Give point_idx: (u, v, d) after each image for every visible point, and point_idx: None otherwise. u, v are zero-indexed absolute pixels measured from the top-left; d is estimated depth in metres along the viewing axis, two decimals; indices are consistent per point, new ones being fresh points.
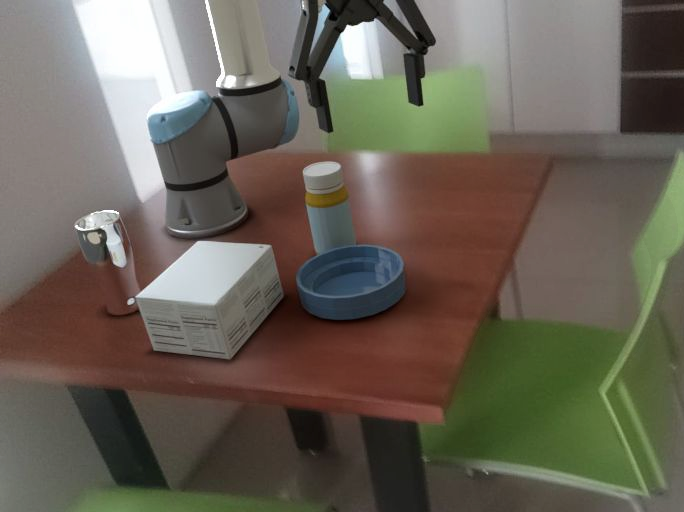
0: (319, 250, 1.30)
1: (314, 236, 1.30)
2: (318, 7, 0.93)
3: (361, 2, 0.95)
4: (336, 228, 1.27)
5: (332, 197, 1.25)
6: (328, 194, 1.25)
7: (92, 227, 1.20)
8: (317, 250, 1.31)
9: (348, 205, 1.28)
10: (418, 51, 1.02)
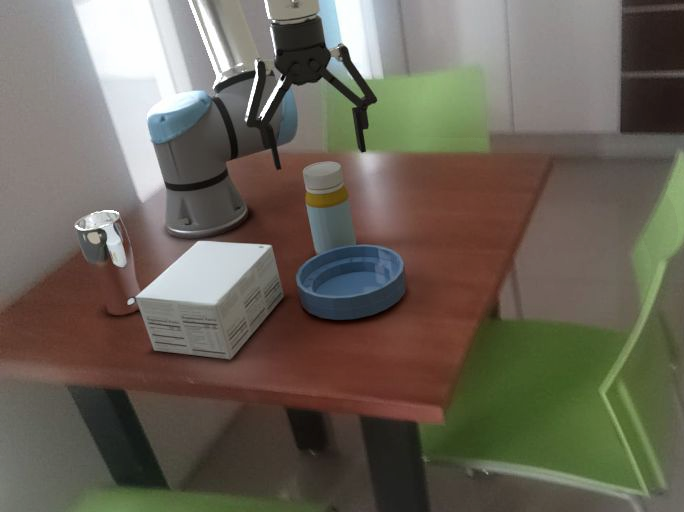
0: (319, 250, 1.30)
1: (314, 236, 1.30)
2: (266, 71, 1.14)
3: (305, 67, 1.16)
4: (336, 228, 1.27)
5: (332, 197, 1.25)
6: (328, 194, 1.25)
7: (92, 227, 1.20)
8: (317, 250, 1.31)
9: (348, 205, 1.28)
10: (360, 107, 1.21)
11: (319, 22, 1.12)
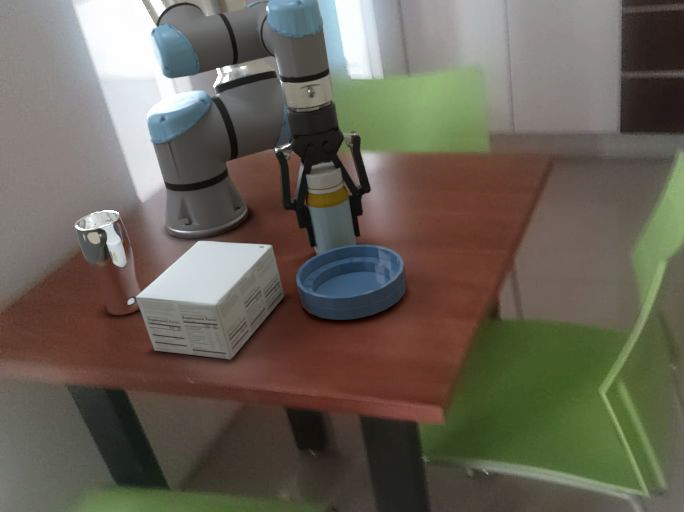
0: (319, 250, 1.30)
1: (314, 236, 1.30)
2: (285, 157, 1.22)
3: (319, 148, 1.23)
4: (336, 228, 1.27)
5: (332, 197, 1.25)
6: (328, 194, 1.25)
7: (92, 227, 1.20)
8: (317, 250, 1.31)
9: (348, 205, 1.28)
10: (354, 196, 1.28)
11: (333, 108, 1.19)
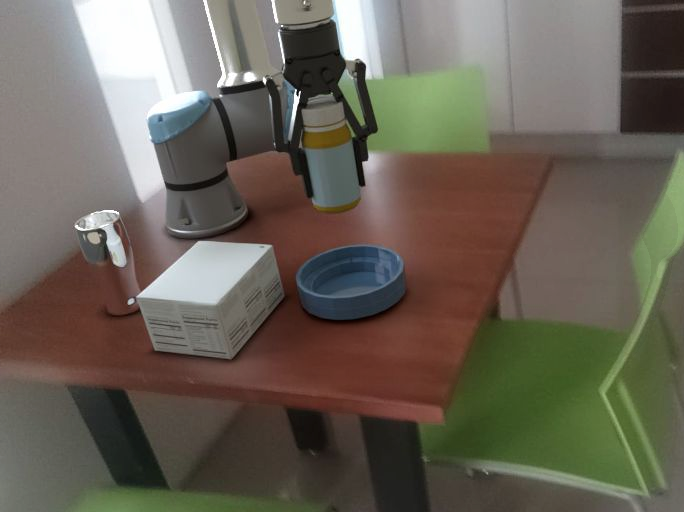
0: (317, 201, 1.11)
1: (311, 185, 1.10)
2: (277, 87, 1.02)
3: (317, 77, 1.03)
4: (337, 174, 1.08)
5: (332, 136, 1.06)
6: (328, 132, 1.05)
7: (92, 227, 1.20)
8: (315, 202, 1.11)
9: (351, 147, 1.09)
10: (358, 137, 1.09)
11: (333, 27, 1.00)
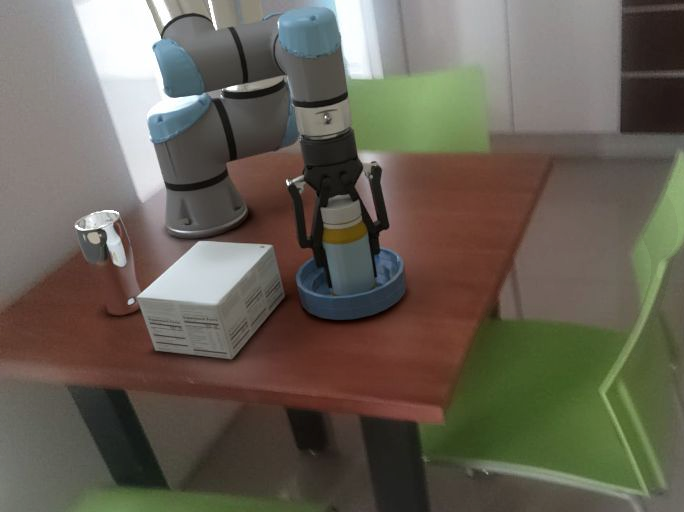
0: (334, 290, 1.17)
1: None
2: (299, 191, 1.08)
3: (336, 180, 1.09)
4: (353, 266, 1.14)
5: (349, 232, 1.11)
6: (345, 229, 1.11)
7: (92, 227, 1.20)
8: (332, 290, 1.17)
9: (367, 240, 1.14)
10: (371, 233, 1.15)
11: (352, 136, 1.06)
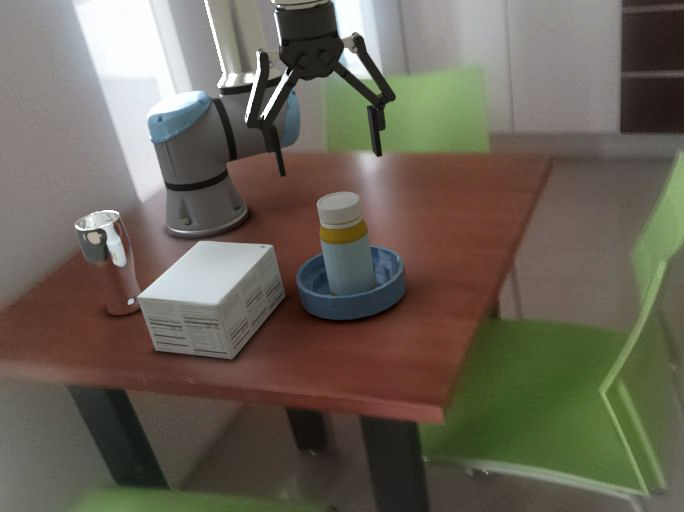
0: (334, 290, 1.17)
1: (329, 274, 1.16)
2: (269, 63, 0.99)
3: (315, 59, 1.01)
4: (353, 266, 1.14)
5: (349, 232, 1.11)
6: (345, 229, 1.11)
7: (92, 227, 1.20)
8: (332, 290, 1.17)
9: (367, 240, 1.14)
10: (376, 106, 1.06)
11: (331, 7, 0.97)
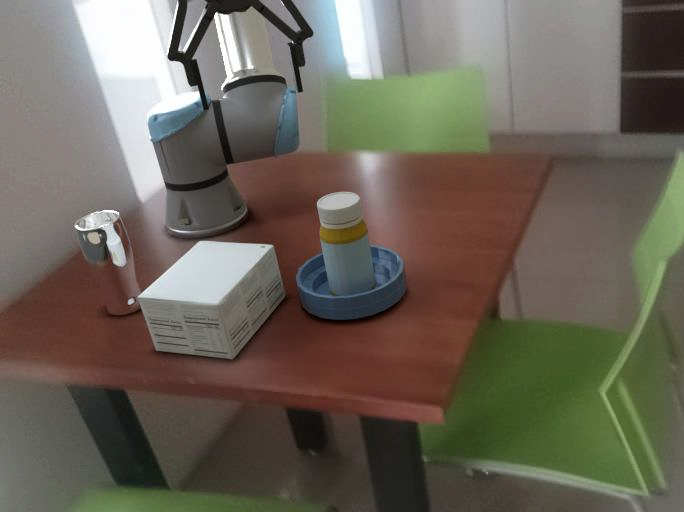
0: (334, 290, 1.17)
1: (329, 274, 1.16)
2: None
3: None
4: (353, 266, 1.14)
5: (349, 232, 1.11)
6: (345, 229, 1.11)
7: (92, 227, 1.20)
8: (332, 290, 1.17)
9: (367, 240, 1.14)
10: (294, 41, 1.10)
11: None
